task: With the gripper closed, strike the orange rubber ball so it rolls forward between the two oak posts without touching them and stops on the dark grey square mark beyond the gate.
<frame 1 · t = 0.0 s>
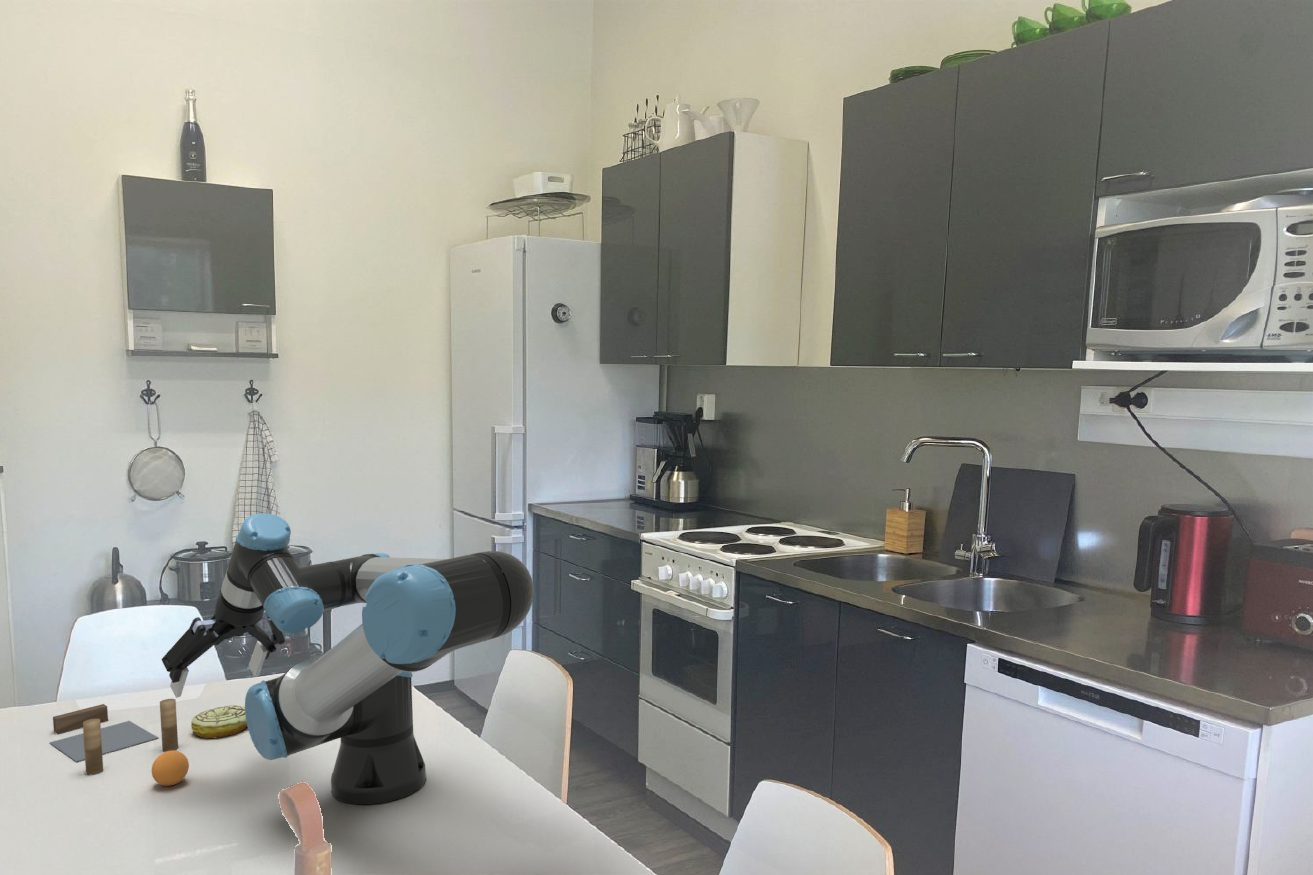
hand: (215, 680, 166), 15 cm above the table, tool tilted 35°, fingers open, 13 cm apart
right post: (170, 748, 175), on the table
ball: (170, 767, 160), on the table
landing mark: (104, 740, 180), on the table
decorated donut: (223, 731, 185), on the table
stopper wall: (81, 726, 187), on the table
left post: (94, 771, 166), on the table
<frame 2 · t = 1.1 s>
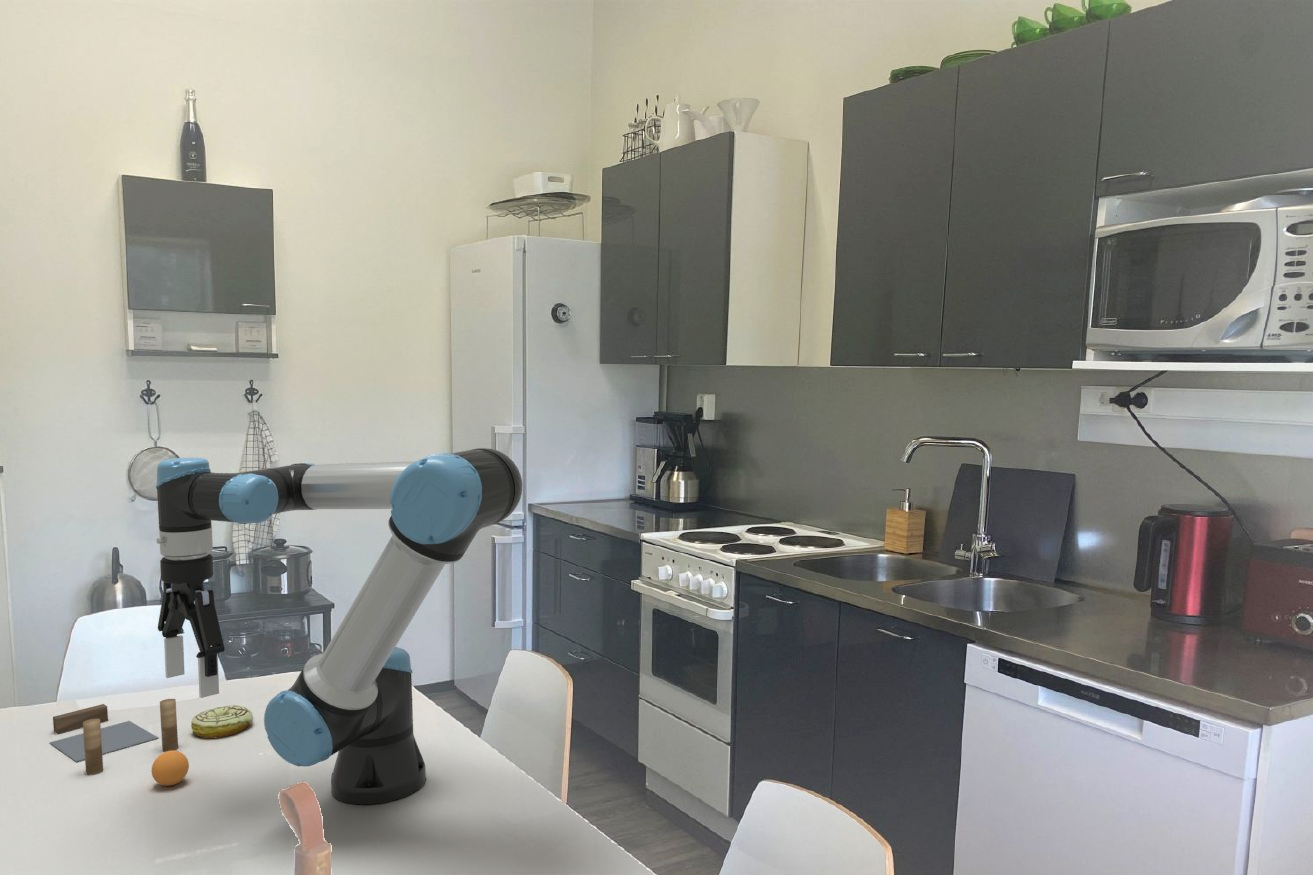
hand: (191, 685, 153), 19 cm above the table, tool pointing down, fingers open, 13 cm apart
nothing on the table moved.
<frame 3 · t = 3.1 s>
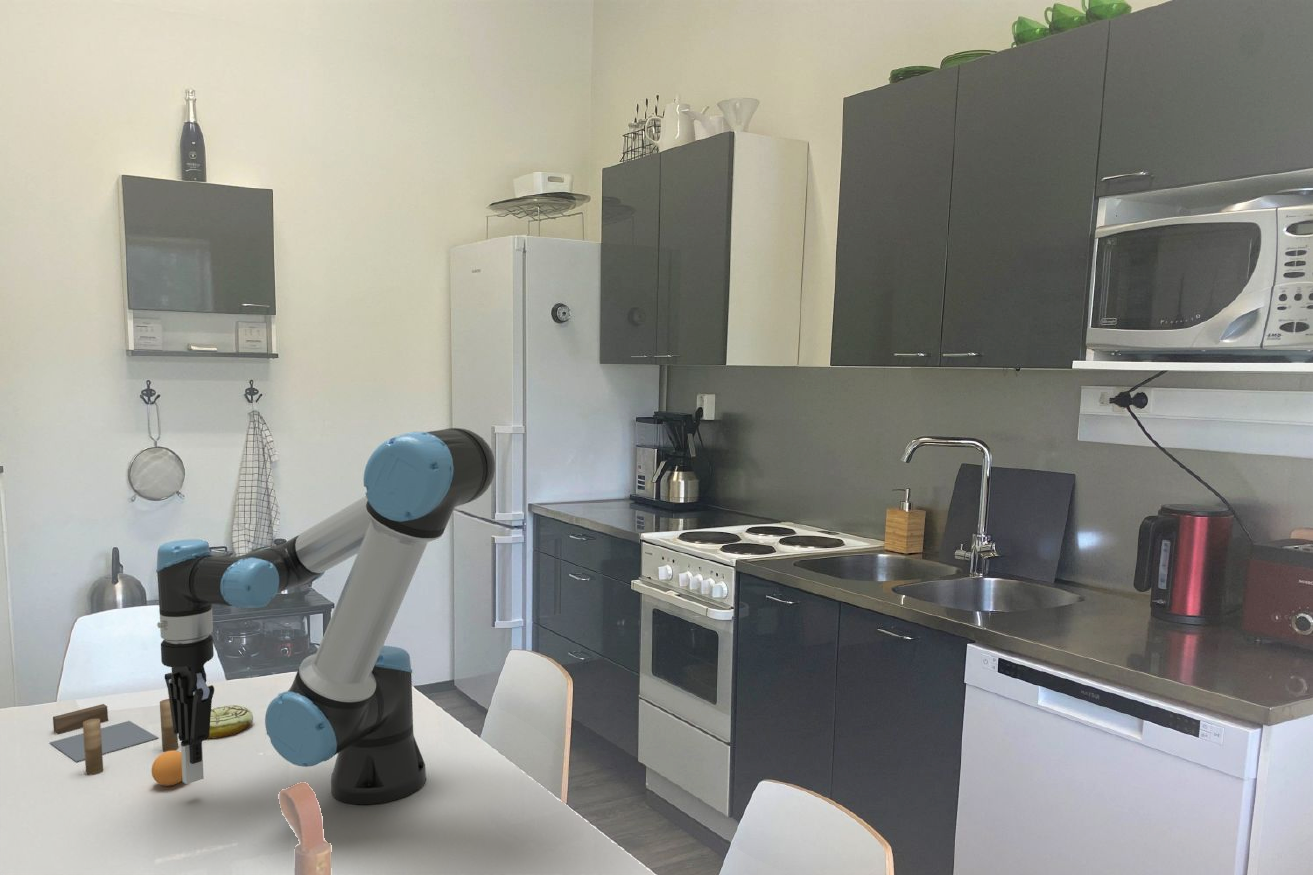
hand: (193, 779, 154), 3 cm above the table, tool pointing down, fingers closed
nothing on the table moved.
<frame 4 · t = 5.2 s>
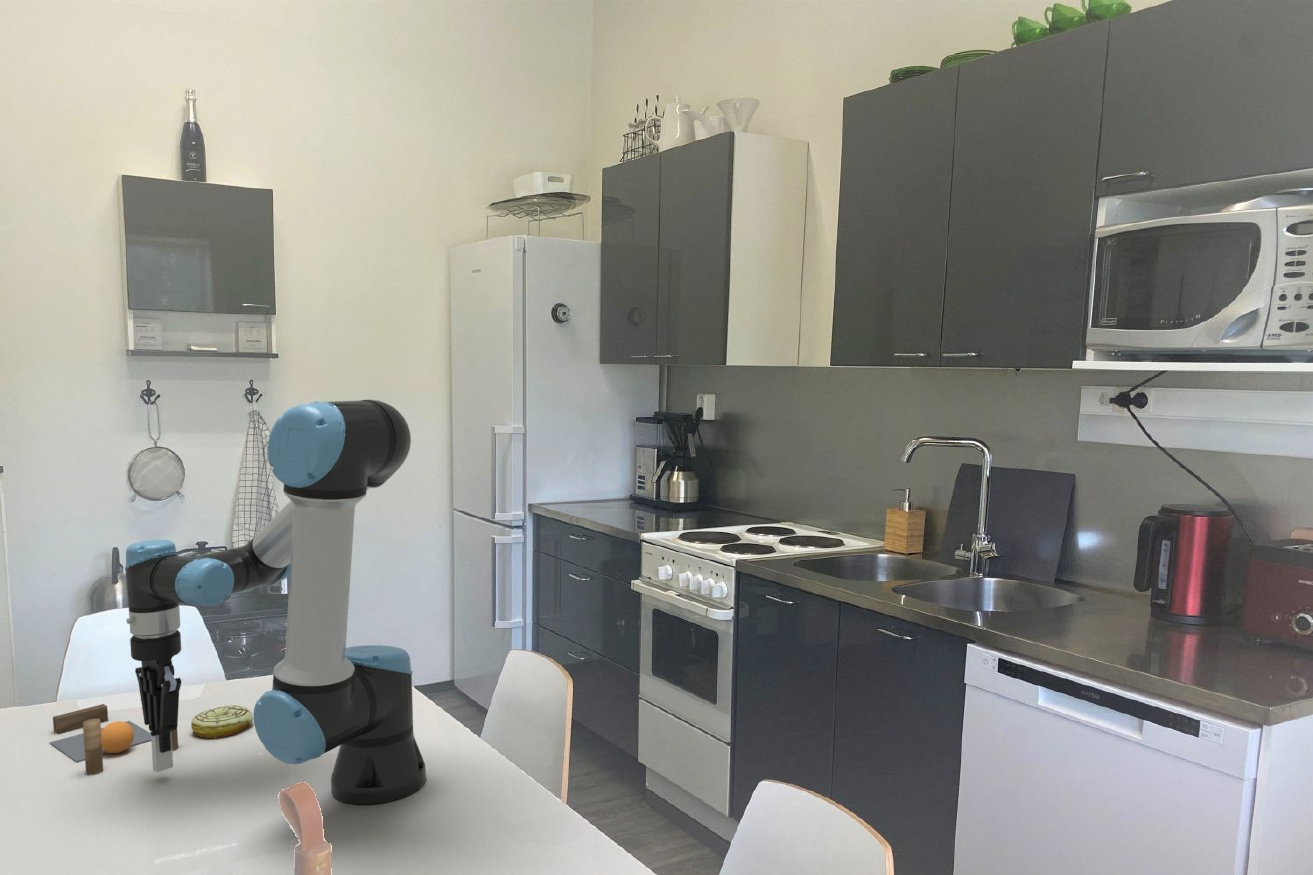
hand: (163, 768, 162), 2 cm above the table, tool pointing down, fingers closed
ball: (116, 737, 174), on the table
everything else where it was.
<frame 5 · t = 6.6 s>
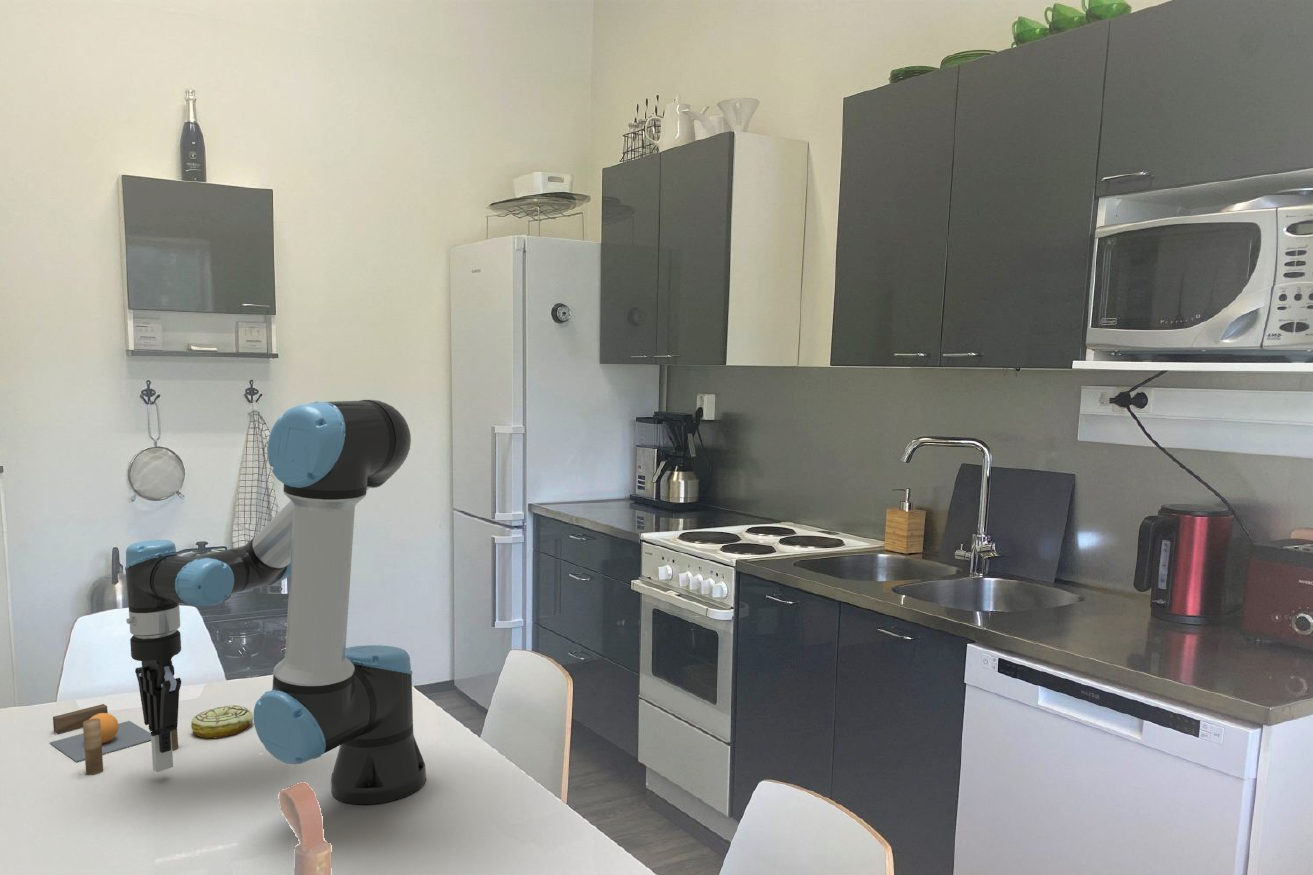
hand: (163, 768, 162), 2 cm above the table, tool pointing down, fingers closed
ball: (101, 728, 178), on the table
everything else where it was.
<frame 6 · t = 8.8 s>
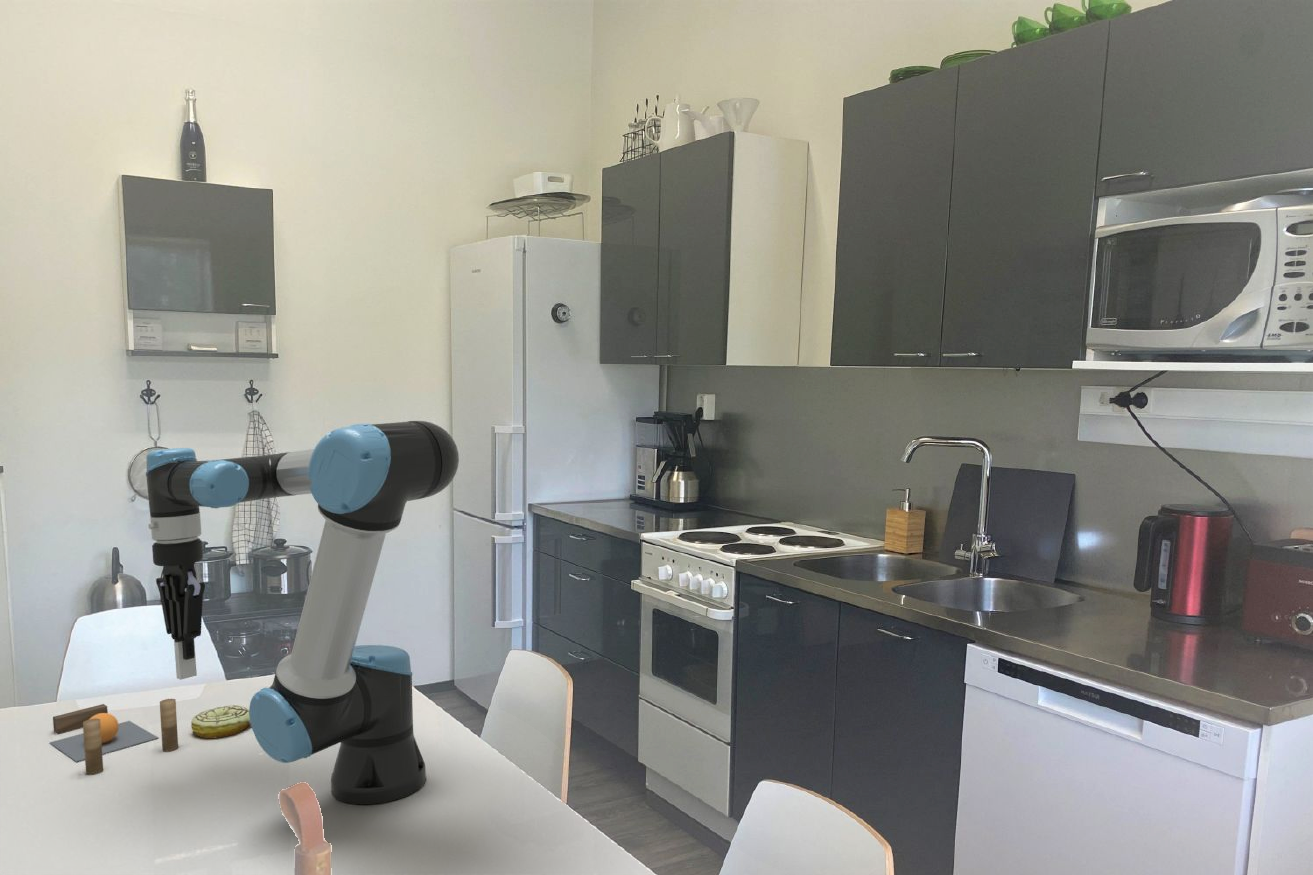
hand: (186, 676, 162), 17 cm above the table, tool pointing down, fingers closed
nothing on the table moved.
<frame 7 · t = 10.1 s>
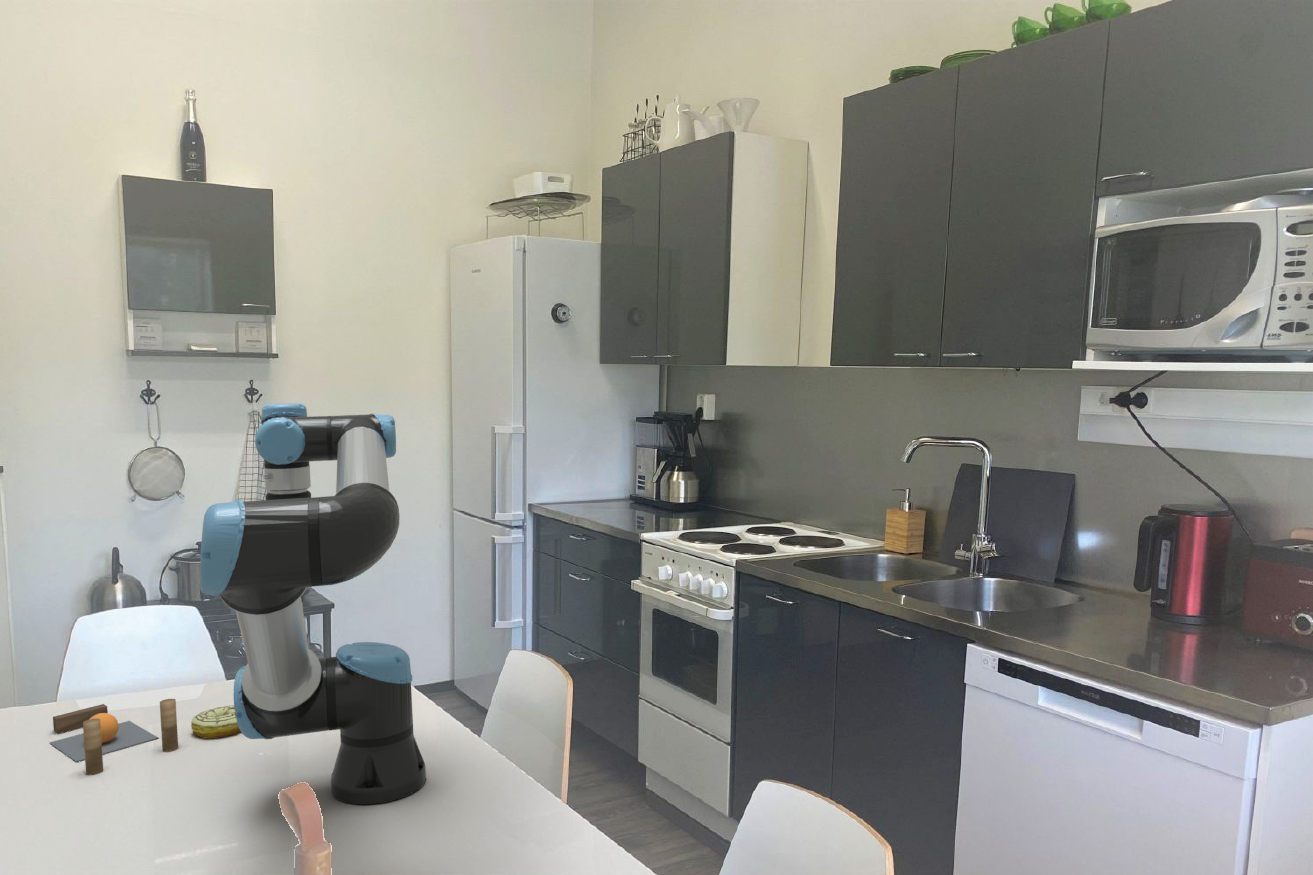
hand: (294, 622, 169), 24 cm above the table, tool pointing down, fingers closed
nothing on the table moved.
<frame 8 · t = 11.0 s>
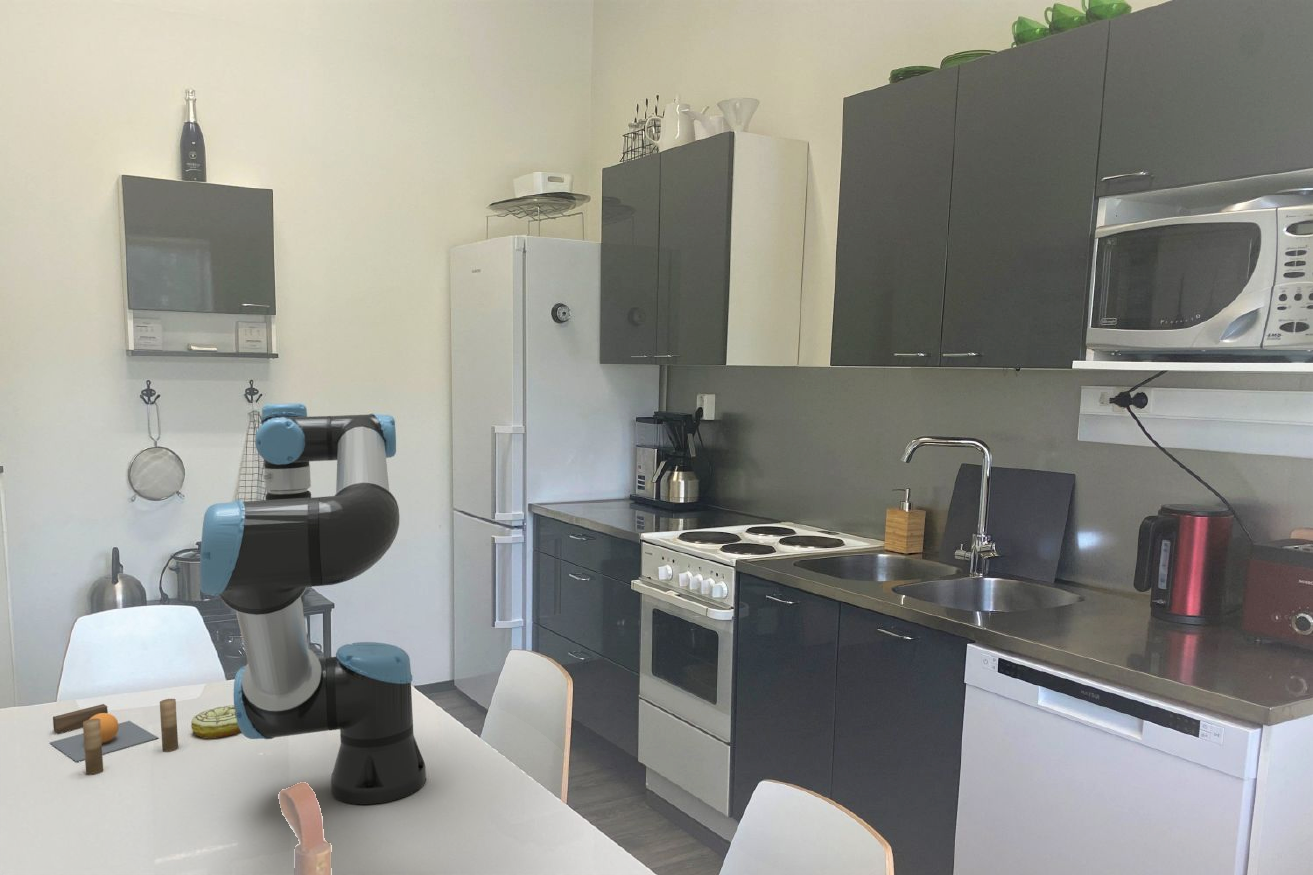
hand: (294, 622, 169), 24 cm above the table, tool pointing down, fingers closed
nothing on the table moved.
at the end: ball 1.0 cm from the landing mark (horizontally); ball never touched left post; ball never touched right post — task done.
